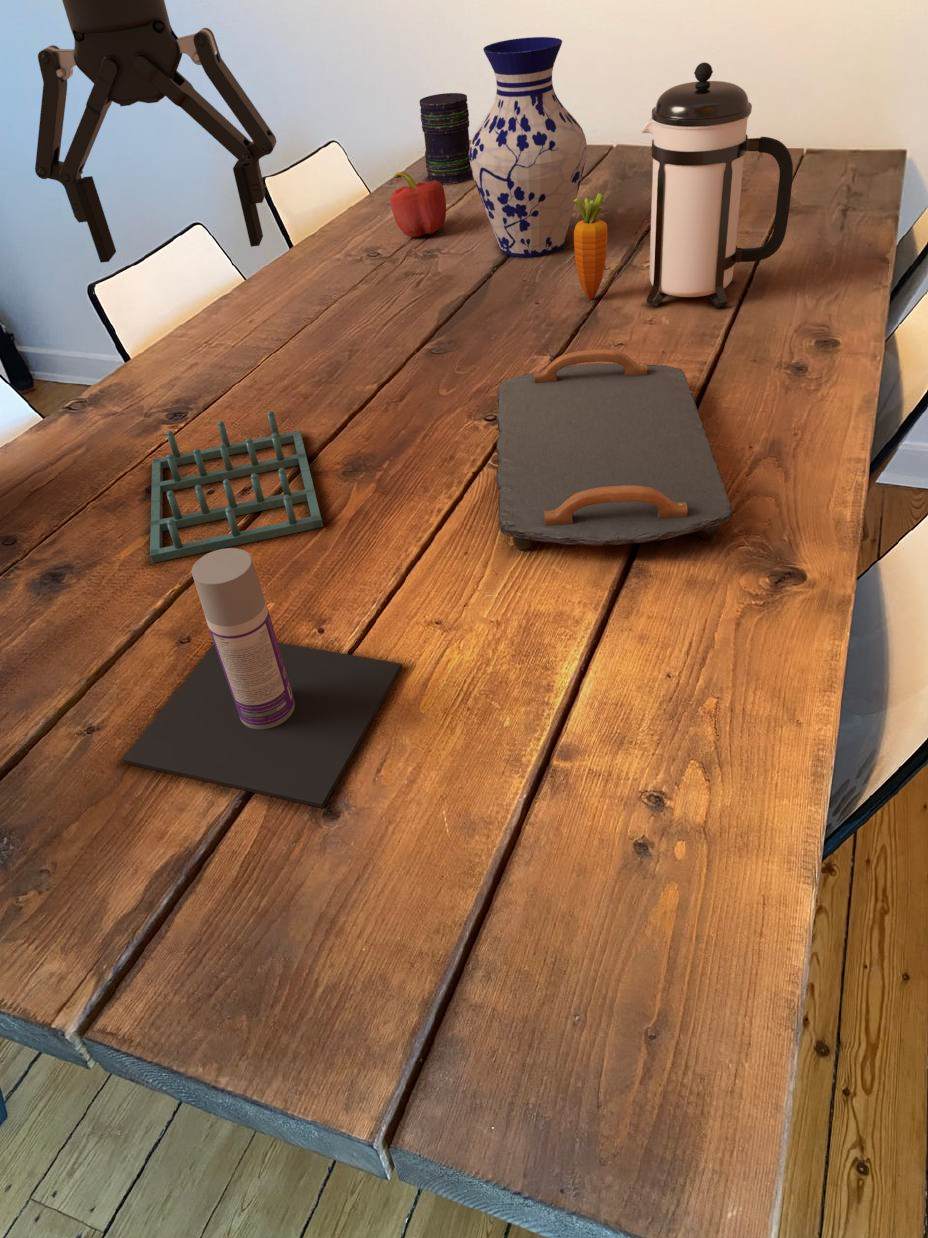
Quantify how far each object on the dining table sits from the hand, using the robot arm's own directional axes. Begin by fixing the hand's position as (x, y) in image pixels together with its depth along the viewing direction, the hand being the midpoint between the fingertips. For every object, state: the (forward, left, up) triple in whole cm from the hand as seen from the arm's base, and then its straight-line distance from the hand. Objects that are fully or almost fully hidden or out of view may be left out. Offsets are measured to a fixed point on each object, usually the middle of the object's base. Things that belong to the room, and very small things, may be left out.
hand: (182, 249), depth 85 cm
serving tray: (+33, +20, -29) cm, 48 cm away
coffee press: (+33, +70, -29) cm, 83 cm away
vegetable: (-22, +90, -29) cm, 97 cm away
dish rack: (-5, +3, -29) cm, 29 cm away
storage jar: (-31, +124, -29) cm, 131 cm away
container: (+18, -26, -28) cm, 43 cm away
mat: (+18, -26, -29) cm, 43 cm away
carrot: (+18, +65, -29) cm, 73 cm away
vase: (+1, +86, -29) cm, 91 cm away
